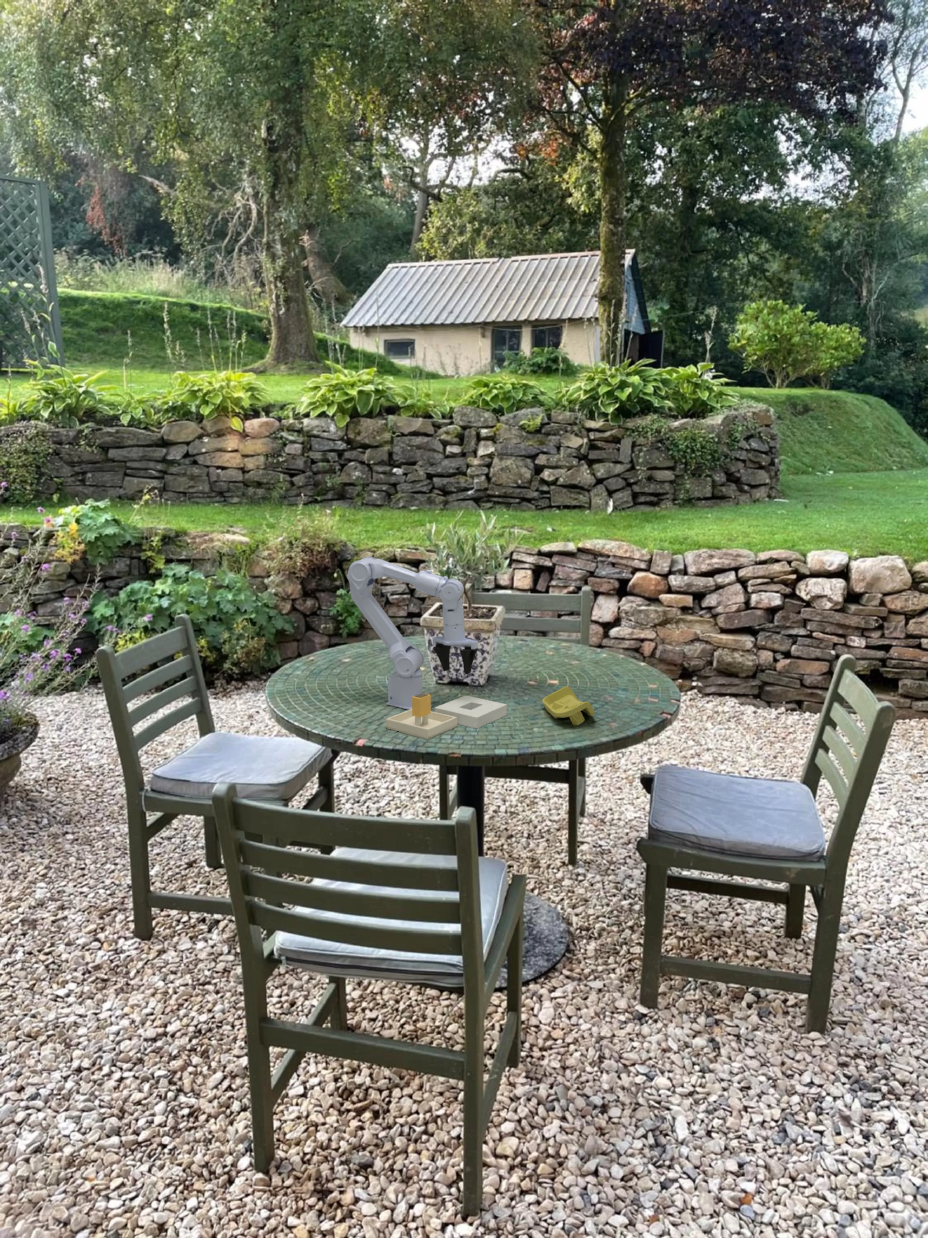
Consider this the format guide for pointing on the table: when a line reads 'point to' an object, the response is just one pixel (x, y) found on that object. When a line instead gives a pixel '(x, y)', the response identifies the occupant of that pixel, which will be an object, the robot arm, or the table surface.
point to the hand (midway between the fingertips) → (456, 671)
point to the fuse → (421, 708)
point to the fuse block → (473, 711)
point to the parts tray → (434, 727)
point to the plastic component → (567, 705)
